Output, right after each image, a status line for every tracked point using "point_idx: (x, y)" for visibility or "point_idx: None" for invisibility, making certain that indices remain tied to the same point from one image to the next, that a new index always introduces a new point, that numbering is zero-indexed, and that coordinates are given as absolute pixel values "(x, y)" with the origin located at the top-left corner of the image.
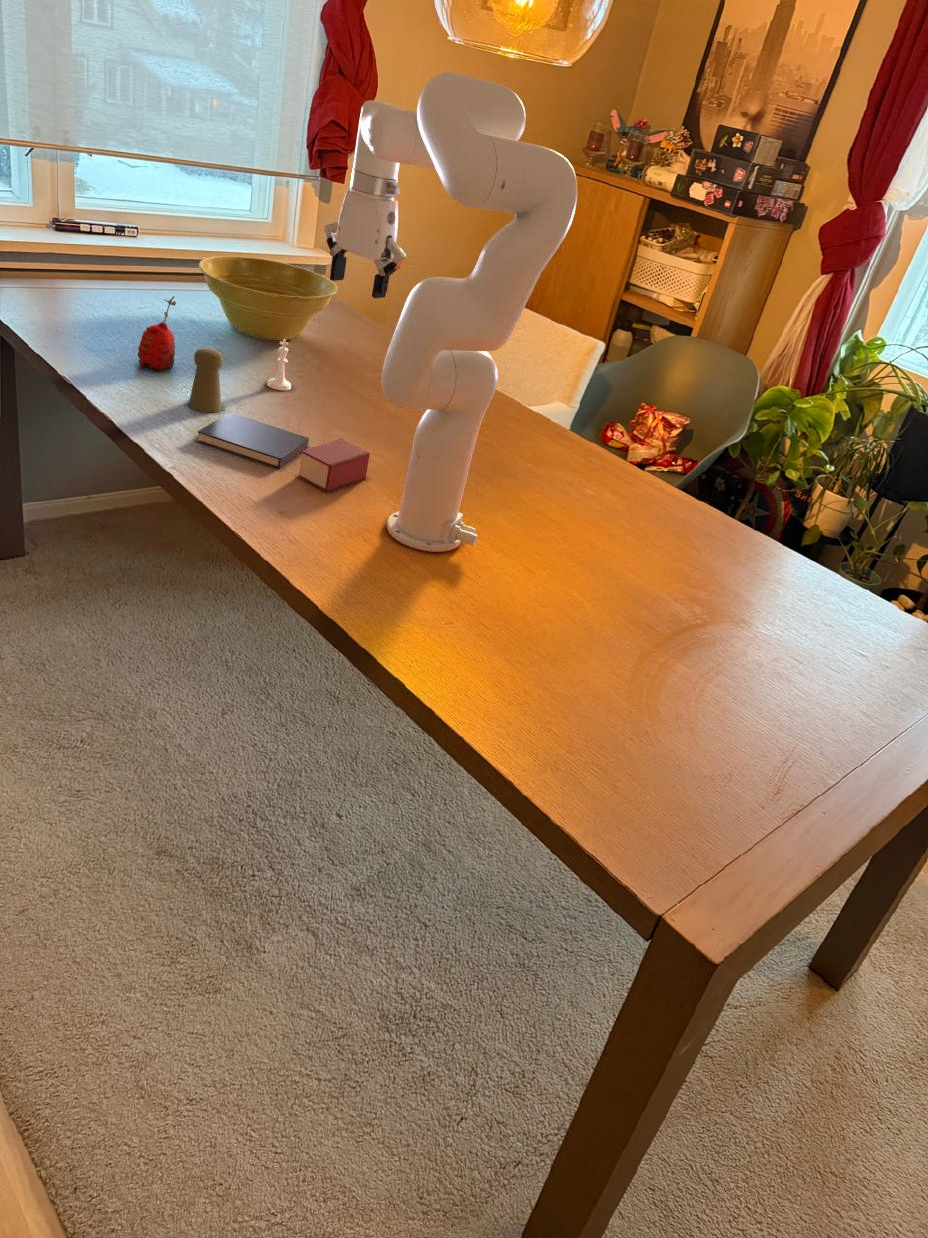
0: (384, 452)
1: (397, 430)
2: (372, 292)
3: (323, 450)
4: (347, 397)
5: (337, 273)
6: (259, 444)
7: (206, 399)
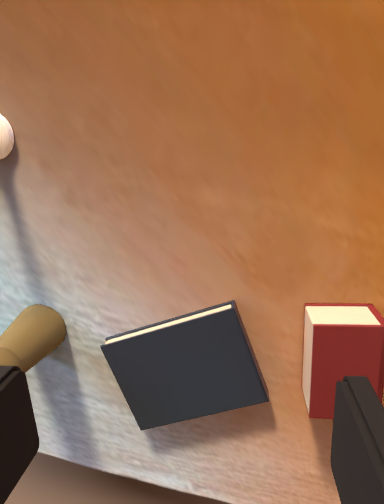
0: (322, 182)
1: (263, 54)
2: (338, 485)
3: (331, 389)
4: (78, 19)
5: (13, 452)
6: (215, 392)
7: (50, 351)
